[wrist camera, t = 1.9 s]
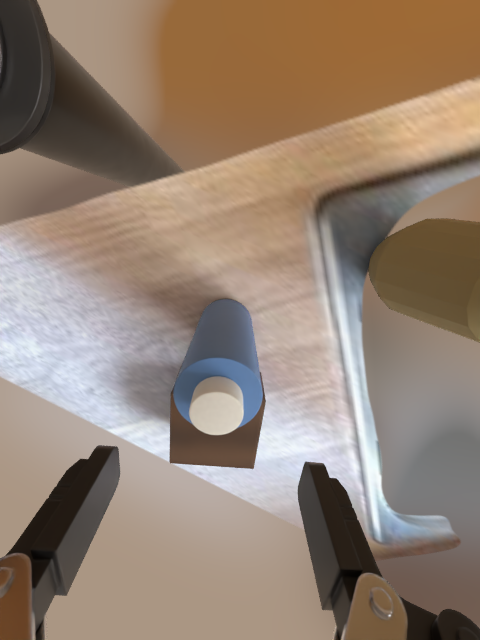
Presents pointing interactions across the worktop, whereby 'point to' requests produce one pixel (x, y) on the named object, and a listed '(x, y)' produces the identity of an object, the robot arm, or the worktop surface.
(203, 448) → the walnut block
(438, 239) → the squeeze bottle
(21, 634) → the robot arm
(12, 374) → the worktop surface
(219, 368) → the blue bottle
